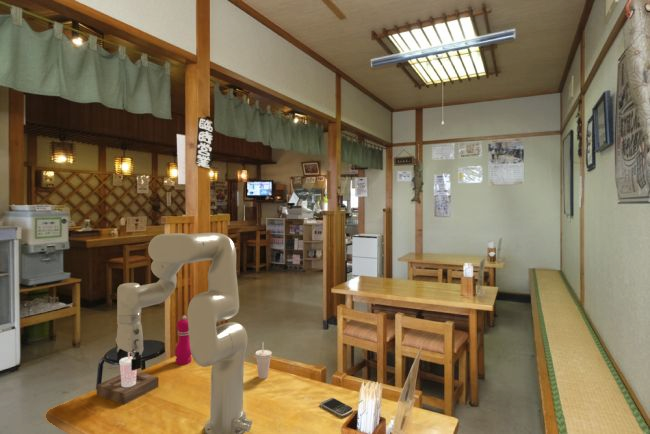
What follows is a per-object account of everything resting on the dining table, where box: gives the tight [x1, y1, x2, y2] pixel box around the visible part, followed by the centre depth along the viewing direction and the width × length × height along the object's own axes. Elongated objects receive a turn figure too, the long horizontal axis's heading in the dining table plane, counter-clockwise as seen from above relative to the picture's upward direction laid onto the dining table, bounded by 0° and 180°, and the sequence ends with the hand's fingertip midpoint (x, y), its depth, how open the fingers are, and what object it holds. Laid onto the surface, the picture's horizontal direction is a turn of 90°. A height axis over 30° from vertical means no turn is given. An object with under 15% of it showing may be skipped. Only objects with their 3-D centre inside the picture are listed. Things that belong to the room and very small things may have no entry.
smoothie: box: [254, 341, 273, 380], centre depth 150 cm, size 6×6×14 cm
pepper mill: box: [174, 315, 192, 366], centre depth 163 cm, size 7×7×20 cm
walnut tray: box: [96, 370, 160, 405], centre depth 137 cm, size 14×14×4 cm
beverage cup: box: [118, 352, 138, 387], centre depth 136 cm, size 6×6×14 cm
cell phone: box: [319, 397, 354, 418], centre depth 128 cm, size 6×11×1 cm, turn 45°
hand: (128, 365), depth 136 cm, fingers open, 9 cm apart
